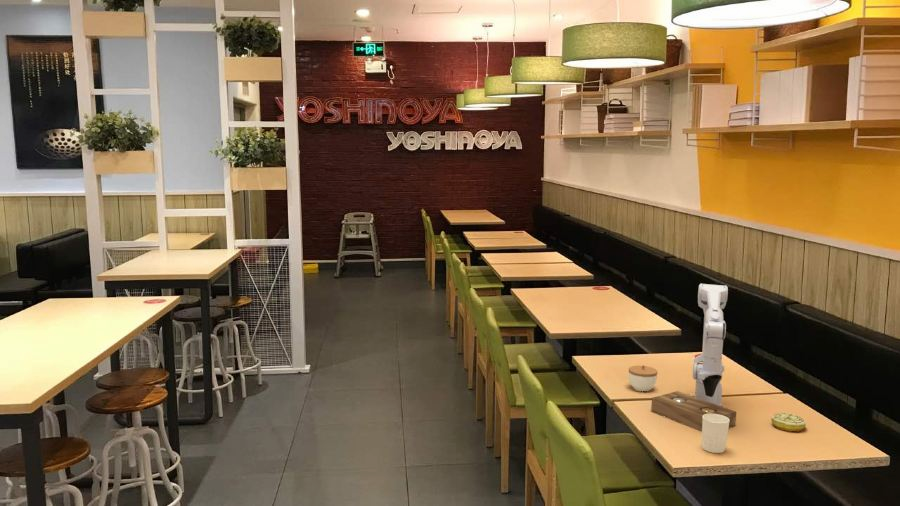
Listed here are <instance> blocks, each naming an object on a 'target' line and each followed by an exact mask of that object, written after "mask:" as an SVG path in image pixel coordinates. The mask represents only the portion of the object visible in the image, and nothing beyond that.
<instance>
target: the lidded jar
mask: <svg viewBox="0 0 900 506" xmlns="http://www.w3.org/2000/svg"><path fill="white" fill-rule="evenodd" d="M658 374H659V373H658V370H657V369H656V368H654V367H651V366H646V365H645V364H642V365H633V366H629V368H628V380H629V384H630V385H631V388H632V387H633V390H634V391H637V392H641V391H642V392H643V391H647V392H650V391H649V390H652V389H653V388H654V386H655V385H656V382H657V379H658ZM643 393H644V392H643Z"/></svg>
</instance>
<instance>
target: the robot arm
mask: <svg viewBox="0 0 900 506" xmlns="http://www.w3.org/2000/svg"><path fill="white" fill-rule="evenodd" d="M728 288H729V287H728V286H727V285H726V284H725V285H721V284H719V285H718V284H707V283H701V282H700V284H699V285H698V289H697V290H698V291H697V304H698V307H700V308H701V309H702V310H703V314H704V317H703V332H702V333H703V334H702V349H701V350H702V352H701V353H700V354H699V355H697V356H695V358H694V359H693V365H692V379H693V380H694V381H695V389H694V397H696V398H699V399H702V400H705V401H708V402H711V403H713V404H716V405H719V406H722V407H724V404H723V403H722V398H723V397H722V396H723V395H722V394H723V385H722V383H721V382H722V380H723V373H724V372H725V365H723V362H722V360H723V359H722V358H723V347H724V340H725V338H726V333H727V331H726V330H727V323H726V321H725V320H724V312H723V310H724V309H725V307H726V305H727V302H728V294H729V292H728V291H729V289H728Z"/></svg>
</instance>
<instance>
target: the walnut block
mask: <svg viewBox="0 0 900 506" xmlns="http://www.w3.org/2000/svg"><path fill="white" fill-rule="evenodd" d="M673 398H683V399H684V400H685V401H684V402H678V401H675V400H673ZM650 408H651V410H650V412H652V413H654V414H657V415H659V416H662V417H664V416H665V418H667V419H669V418H670V419H669V420H672V421H674V420H675V422H678V423H680V424H682V425H685V426H688V427H690V428H693V429H695V430H697V431H700V432H702V416H703V415H705V414H719V415H723V416H725V417H727V418H729V420H730V421H729V428H728V429H730V428H732V427H733V428H734V427H735V426H736V422H737V411H736V410H732V409H730V408H728V407H725V406H719V405H716V404H713V403H711V402H708V401H705V400H702V399H699V398H696V397H695V395H694V396H693V395H690V394H688V393H685V392H682V391H679V390H676V391H673V392H668V393H665V394H661V395H657V396H653V397H651V407H650ZM703 408H710V409H713V410H714V412H713V413H708V412H705V411H702V409H703Z"/></svg>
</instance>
